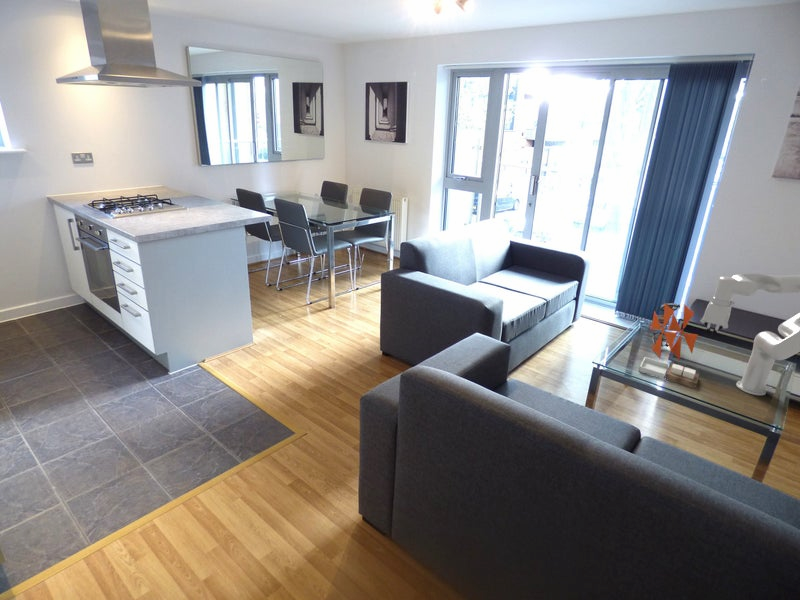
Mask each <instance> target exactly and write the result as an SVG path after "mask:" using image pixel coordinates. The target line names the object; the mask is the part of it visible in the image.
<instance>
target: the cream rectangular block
mask: <svg viewBox="0 0 800 600" xmlns="http://www.w3.org/2000/svg"><path fill="white" fill-rule="evenodd" d="M683 369H684V371H683V375H682V376H685V377H688V378H691V379H693V378H694V375H695V373H697V372H696V371H697V370H695V369H693V368H690V367H686V366H684V368H683Z"/></svg>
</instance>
